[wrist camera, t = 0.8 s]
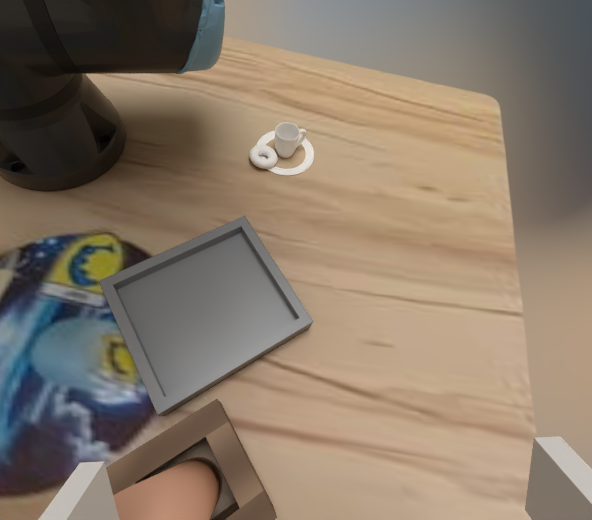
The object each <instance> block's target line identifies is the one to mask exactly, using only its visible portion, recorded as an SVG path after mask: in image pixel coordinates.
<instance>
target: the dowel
mask: <svg viewBox="0 0 592 520" xmlns="http://www.w3.org/2000/svg"><path fill="white" fill-rule="evenodd" d="M221 490H222V477H221V473H220V471H219V469H218V467H217V466H216V465H215V464H214V463H213V462H212V461H211V460H209V459H207V458H203V457H195V458H191V459H189V460H186V461H184V462H182V463H180V464H178V465H176V466H174V467H171V468H169V469H167V470H165V471H163V472H161V473H159V474H156V475H154V476H152V477H150V478H148V479H146V480H144V481H141V482H139V483H137V484H135V485H133V486H131V487H129V488H126V489H124V490H122V491H120V492H118V493H117V494H115V495H113V496H114V500H115V504H116V508H117V512H118V516H119V520H210V518H211V515H212V513H213V511H214V509H215V506H216V504H217V502H218V499H219V497H220V494H221Z"/></svg>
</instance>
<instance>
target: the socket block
mask: <svg viewBox="0 0 592 520" xmlns="http://www.w3.org/2000/svg"><path fill="white" fill-rule="evenodd" d="M205 439H207V441H208V443H209V445H210V447H211V449H212V451H213V453H214V455H215V457H216V460H217V462H218V464H219V466H220V468H221V470H222V472H223V474H224V476H225V478H226V480H227V483H228V485H229V487H230V489H231V491H232V493H233V495H234V497H235V499H236V502H235V503H234V504H232V505H231V506H229V507H228V508H227V509H225V510H224V511H223V512H221V513H220V514H219V515H217V516H216V517H215V518H213V519H212V520H275V519H276V518H277V516H276V513H275V510H274V507H273V505H272V503H271V501H270V499H269V497H268V495H267V493H266V491H265V489H264V487H263V485H262V483H261V481H260V479H259V477H258V475H257V473H256V471H255V469H254V467H253V465H252V463H251V461H250V459H249V457H248V455H247V453H246V452H245V450H244V448H243V446H242V444H241V442H240V440H239V438H238V436H237V434H236V432H235V430H234V428H233V426H232V424H231V422H230V420H229V418H228V416H227V414H226V412H225V410H224V408H223V406H222V404H221V403H220V402H219V401H218V400H217V399H216V400H214V401H213V402H211V403H210V404H208V405H206V406H205V407H203V408H202V409H200V410H198V411H197V412H195V413H194V414H192V415H190V416H189V417H187V418H185V419H184V420H182V421H181V422H179V423H177V424H176V425H174V426H173V427H171V428H169V429H168V430H166V431H165V432H163V433H161V434H160V435H158V436H156V437H155V438H153V439H152V440H150V441H148V442H147V443H145V444H144V445H142V446H140V447H139V448H137V449H136V450H134V451H132V452H131V453H129V454H128V455H126V456H124V457H123V458H121V459H119V460H118V461H116V462H115V463H113V464H111V465H110V466H108V467H107V468H106V469H107V473H108V477H109V481H110V485H111V489H112V493H113V495H115V494H117V493H118V492H120V491H122V490H124V489H126V488H129V487H131V486H133V485H135V484H137V483H139V482H141V481H144V480H146V479H148V478H150V477H151V476H150V475H152V474H154V473H155V472H157V471H158V470H160V469H161V468H163V467H164V466H166V465H167V464H169V463H170V462H172V461H173V460H175V459H176V458H178V457H179V456H181V455H183V454H184V453H186V452H187V451H189V450H190V449H192V448H193V447H195V446H196V445H198V444H199V443H201V442H202V441H204V440H205Z"/></svg>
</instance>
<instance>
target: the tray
mask: <svg viewBox="0 0 592 520" xmlns="http://www.w3.org/2000/svg"><path fill="white" fill-rule="evenodd" d="M99 283H100V286H101V288H102V290H103V292H104V295H105V297H106V299H107V301H108V304H109V306H110V308H111V310H112V313H113V315H114V317H115V319H116V322H117V324H118V326H119V328H120V331H121V333H122V335H123V338H124V340H125V342H126V344H127V347H128V349H129V351H130V353H131V356H132V358H133V360H134V362H135V365H136V367H137V369H138V371H139V374H140V376H141V378H142V380H143V383H144V385H145V387H146V390H147V392H148V394H149V396H150V399H151V401H152V403H153V405H154V408H155V410H156V412H157V414H158V415H162V416H165V415H166V414H168V413H170V412H171V411H173V410H175V409H176V408H178V407H180V406H181V405H183V404H185V403H186V402H188V401H190V400H191V399H193V398H194V397H196V396H198V395H199V394H201V393H203V392H204V391H206V390H208V389H209V388H211V387H213V386H214V385H216V384H218V383H219V382H221V381H223V380H224V379H226V378H227V377H229V376H231V375H232V374H234V373H236V372H237V371H239V370H241V369H242V368H244V367H246V366H247V365H249V364H251V363H252V362H254V361H256V360H257V359H259V358H261V357H262V356H264V355H265V354H267V353H269V352H270V351H272V350H274V349H275V348H277V347H279V346H280V345H282V344H284V343H285V342H287V341H289V340H290V339H292V338H294V337H295V336H297V335H298V334H300V333H302V332H303V331H305V330H307V329H308V328H310V326H311V324H312V323H313V320H312V318H311V317H310V315H309V314H308V312H307V311H306V309H305V307H304V306H303V304H302V303H301V301H300V300H299V298H298V297H297V295H296V294H295V292H294V291H293V289H292V287H291V286H290V284H289V283H288V281H287V280H286V278H285V277H284V275H283V274H282V272H281V271H280V269H279V268H278V266H277V264H276V263H275V261H274V260H273V258H272V257H271V255H270V254H269V252H268V251H267V249H266V248H265V246H264V244H263V243H262V241H261V240H260V238H259V237H258V235H257V234H256V232H255V231H254V229H253V228H252V226H251V224H250V223H249V221H248V220H247V218H246V217H245V216H243V217H241V218H239V219H237V220H234V221H232V222H230V223H228V224H225V225H223V226H221V227H219V228H216V229H214V230H212V231H210V232H207V233H205V234H203V235H201V236H199V237H196V238H194V239H192V240H190V241H187V242H185V243H183V244H181V245H178V246H176V247H174V248H172V249H169V250H167V251H165V252H163V253H160V254H158V255H156V256H154V257H151V258H149V259H147V260H145V261H143V262H140V263H138V264H136V265H134V266H131V267H129V268H127V269H125V270H122V271H120V272H118V273H116V274H113V275H111V276H109V277H107V278H104V279H102V280H100V281H99Z"/></svg>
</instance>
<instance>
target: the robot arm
mask: <svg viewBox="0 0 592 520" xmlns="http://www.w3.org/2000/svg"><path fill="white" fill-rule="evenodd" d="M224 18H225V6H224V0H0V175H1V176H2V177H4V178H5V179H6V180H8V181H10V182H11V183H13V184H15V185H18V186H21V187H24V188H28V189H33V190H43V191H51V190H62V189H68V188H72V187H76V186H79V185H82V184H84V183H87V182H89V181H91V180H93V179H95V178H97V177H99V176H100V175H102V174H103V173H104V172H106V171H107V170H108V169H109V168H110V167H111V166H112V165H113V164H114V163H115V162H116V161H117V159H118V158H119V156H120V155H121V153H122V151H123V148H124V145H125V130H124V127H123V124H122V122H121V120H120V117H119V115H118V113H117V111H116V109H115V108H114V106H113V105H112V103H111V102H110V101H109V100H108V99H107V98H106V97H105V96H104V94H103V93H102V92H101V91H100V90H99V89H98V88H97V87H96V86H95V84H94V83H93V82H92V81H91V80H90V79H89V78H88V77H87V76H86V75H85V74H86V73H176V74H182V73H184V72H187V71H199V70H207V69H210V68H211V67H213V66H214V65H215V64H216V62H217V61H218V59H219V56H220V53H221V49H222V43H223V33H224ZM525 510H526V511H527V513H528V514H529V516H530V517H531V519H532V520H592V469H591V468H590V467H589V466H588V465H587V464H586V463H585V462H584V461H583V460H582V459H581V458H580V457H579V456H578V455H577V454H576V453H575V452H574V451H573V449H571V447H570V446H569V445H567V443H566V442H565V441H564V440H563V439H562V438H561V437H560V436H558V437H541V438H534V442H533V450H532V458H531V466H530V474H529V482H528V490H527V498H526V506H525ZM39 520H119V516H118V512H117V508H116V504H115V500H114V496H113V493H112V489H111V485H110V481H109V477H108V473H107V469H106V465H105V462H104V461H103V462H85V463H80V464H79V465H78V466H77V468H76V469H75V470H74V472H73V473H72V475H71V476H70V477H69V479H68V480H67V481H66V483H65V484H64V485H63V487H62V488H61V490H60V491H59V492H58V494H57V495H56V496H55V498H54V499H53V500H52V502H51V503H50V505H49V506H48V507H47V509H46V510H45V511H44V513H43V514H42V515H41V517H40V518H39Z"/></svg>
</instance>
